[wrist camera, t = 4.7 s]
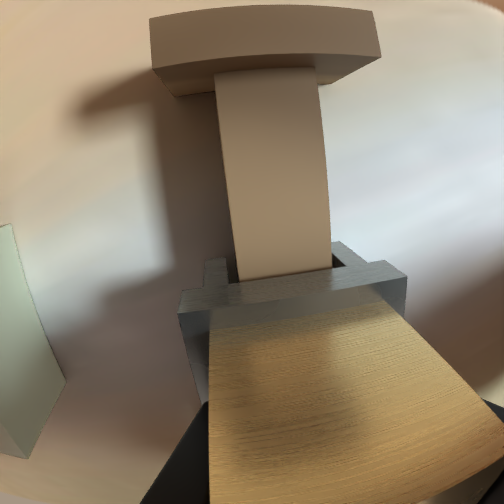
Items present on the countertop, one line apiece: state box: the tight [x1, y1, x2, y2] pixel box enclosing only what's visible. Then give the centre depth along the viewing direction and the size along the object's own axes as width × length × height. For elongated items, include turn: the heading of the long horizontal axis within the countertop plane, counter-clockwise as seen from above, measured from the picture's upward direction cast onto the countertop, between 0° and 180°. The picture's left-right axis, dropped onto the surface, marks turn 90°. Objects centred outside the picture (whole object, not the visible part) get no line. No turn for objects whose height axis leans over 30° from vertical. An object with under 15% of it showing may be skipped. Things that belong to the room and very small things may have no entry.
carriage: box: [177, 241, 504, 504], centre depth 7 cm, size 5×5×8 cm
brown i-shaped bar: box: [149, 5, 381, 283], centre depth 9 cm, size 15×5×3 cm, turn 6°
